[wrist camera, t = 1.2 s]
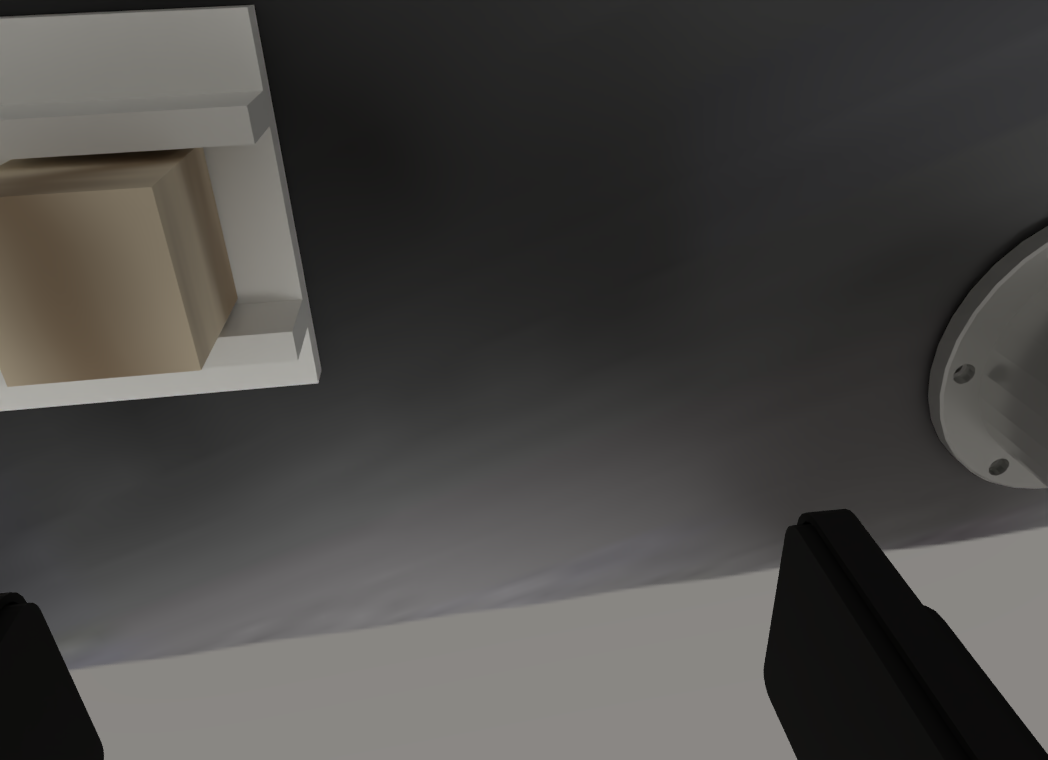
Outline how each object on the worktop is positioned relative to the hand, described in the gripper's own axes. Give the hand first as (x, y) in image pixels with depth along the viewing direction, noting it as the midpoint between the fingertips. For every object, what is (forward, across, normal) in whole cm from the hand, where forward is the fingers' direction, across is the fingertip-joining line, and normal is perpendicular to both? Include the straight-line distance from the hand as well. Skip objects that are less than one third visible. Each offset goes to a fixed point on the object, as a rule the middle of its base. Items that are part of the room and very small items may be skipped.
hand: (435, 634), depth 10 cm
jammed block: (+17, +9, 0) cm, 19 cm away
